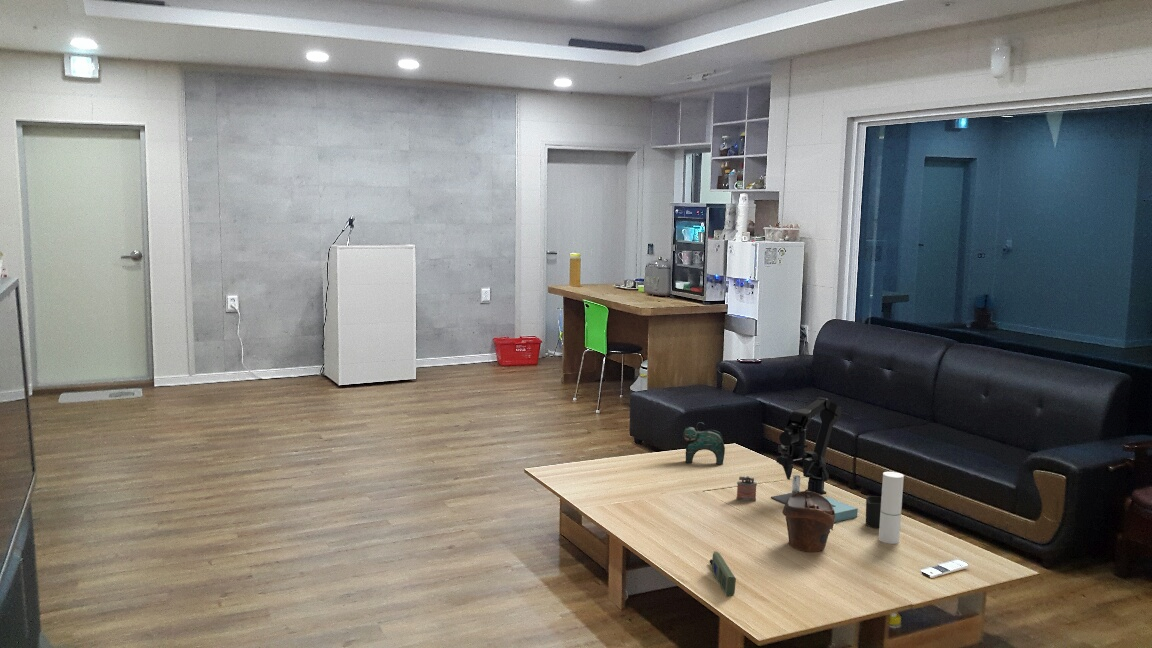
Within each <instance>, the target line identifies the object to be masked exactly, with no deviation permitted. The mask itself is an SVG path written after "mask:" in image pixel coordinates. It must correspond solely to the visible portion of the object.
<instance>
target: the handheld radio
mask: <svg viewBox="0 0 1152 648" xmlns="http://www.w3.org/2000/svg"><path fill="white" fill-rule="evenodd" d="M708 561H709V564H710V565H711V572H712V574H713V576H714V577H715V579H716V581H717V583H718V585H719V586H720V587H721V590H722V591H723V592H724V595H725V596H726V597H734V595H735V591H736V580H737V578H736V576H735V575H734V573H733V572H732V570H731V569H730V567H729V566H728V564H727V562H726V561H725V560H724V558H723V556H722V555H721V553H720V552H718V551H713V554H712V559H710V560H708Z"/></svg>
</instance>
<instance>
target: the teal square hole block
mask: <svg viewBox="0 0 1152 648" xmlns="http://www.w3.org/2000/svg"><path fill="white" fill-rule="evenodd" d="M823 497H824V498H826V499H827V500H828V501H829V502H830V503H831V505H832V507H833V509H834V512H835V518H834V523H835V522H841V521H845V520H849V519H854V518H858V513H859V511H858V509H859V508H857V507H855V506H852V505H850V504H847V503H845V502H843V501H839V500H838V499H834V498H832V497H829V496H823Z"/></svg>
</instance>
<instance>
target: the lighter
mask: <svg viewBox="0 0 1152 648" xmlns="http://www.w3.org/2000/svg"><path fill="white" fill-rule="evenodd" d="M738 479H739V480H738V481H737V482H736V485H737V487H736V488H737V489H736V501H740V502H741V501H742V502H756V501H757V498H756V497H757V485H758V483H757V482H755V477H752V476H751V477H750V476H739V477H738Z"/></svg>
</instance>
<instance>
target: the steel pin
mask: <svg viewBox="0 0 1152 648" xmlns="http://www.w3.org/2000/svg"><path fill="white" fill-rule="evenodd" d="M800 486H801V475H799V474H793V475H792V485H791V493H792V495H793V494H795V493H797V492H800Z"/></svg>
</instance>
